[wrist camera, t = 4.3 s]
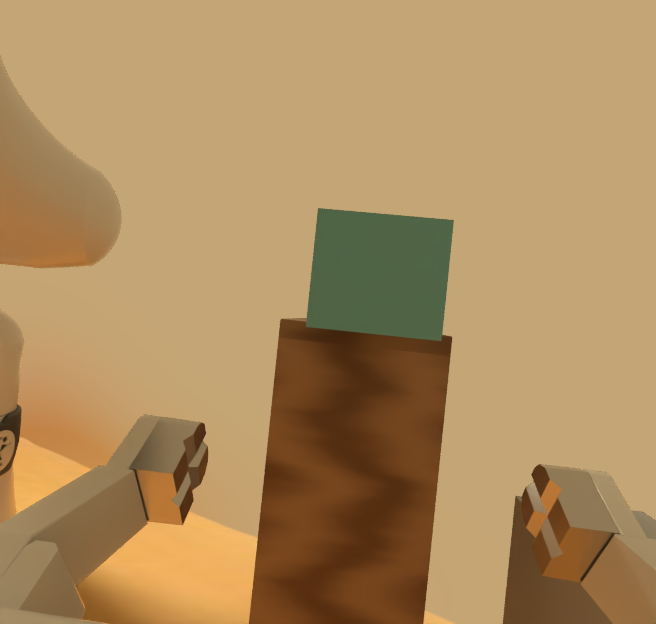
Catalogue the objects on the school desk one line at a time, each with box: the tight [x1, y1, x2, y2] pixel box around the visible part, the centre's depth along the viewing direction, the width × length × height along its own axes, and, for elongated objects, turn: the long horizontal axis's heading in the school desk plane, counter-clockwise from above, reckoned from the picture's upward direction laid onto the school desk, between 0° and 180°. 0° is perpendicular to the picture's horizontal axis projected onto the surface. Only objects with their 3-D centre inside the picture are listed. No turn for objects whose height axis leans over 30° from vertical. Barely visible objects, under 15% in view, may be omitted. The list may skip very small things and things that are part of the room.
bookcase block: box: [249, 318, 452, 624], centre depth 28 cm, size 9×12×26 cm
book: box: [306, 208, 454, 341], centre depth 24 cm, size 5×20×4 cm, turn 177°
